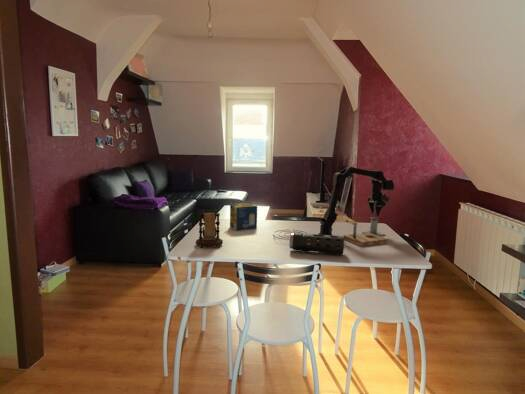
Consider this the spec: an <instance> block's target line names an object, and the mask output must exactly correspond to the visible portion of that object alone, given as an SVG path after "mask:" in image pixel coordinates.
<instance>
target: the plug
mask: <svg viewBox="0 0 525 394" xmlns="http://www.w3.org/2000/svg"><path fill="white" fill-rule="evenodd" d="M378 222H379V217H377V216H376V217H374V216H373V217H372V216H371V217H370V227H369V228H370V229H369V231H370V233H372V234H377V232H378V224H379V223H378Z"/></svg>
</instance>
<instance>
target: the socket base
mask: <svg viewBox="0 0 525 394" xmlns="http://www.w3.org/2000/svg"><path fill="white" fill-rule="evenodd" d="M343 236H344V241H346V242H349V243H351V244H354V245H356V246H358V247H366V246H376V245H383V244H384V245H385V244H388V243H389V238H386V237H384V236H378V235H375V234H372V233H362V232H361V233H356V238H353V233H352V234H343Z"/></svg>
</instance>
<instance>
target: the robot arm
mask: <svg viewBox="0 0 525 394" xmlns="http://www.w3.org/2000/svg"><path fill="white" fill-rule="evenodd" d="M352 174H356V175H361V176H365V177H369V178H371V180H370V181H368V183H369V184H371V191H370V194H371V196H368V197H366V200H365V201H366V203H367V204H368V208H369V210H370V213H371V214H374V212H375V215H376V217H379V216H380V213H381V211H382V209H383V208H385V207H386V206H387V205H386V204H387V203H389V201H390V199H391V197H389V196H388V195H387V194H385V193H383V192H382V191H393V190H394V189H395V183H394V181H393V179H386V177H385V176H384V172H383V171H382V170H376V169H375V170H374V169H372V170H371V169H370V170H369V169H363V168H359V167H358V168H357V167H353V166H351V165H350V166H347V167H345V168H344V169H341V170H339V171H337V172H335V173H334V174H333V176H332V190H331V194H330V199H329V203H328V207H327V209H326V211H325V212H324V215H323V217H322V218H321V219H320V220H319V224H320V228H319V233H318V235H331V236H333V234H332V233H333V224H334V223H335V222H336V221H337V218H338V215H339V214H338V213H337V212H336V208H337V204H338V200H339V197H340V191H341V188H342V186H343V185H344V183H345V181H346V179H347V178H349V177H350V175H352Z"/></svg>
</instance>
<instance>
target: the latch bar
mask: <svg viewBox="0 0 525 394" xmlns="http://www.w3.org/2000/svg"><path fill="white" fill-rule="evenodd" d="M342 217H343V219H344V220H345V221H347V222H349V223H350V224H352V225H353V233H352V234H353V238H356V234H357V227H358V226H357V225H358V222H356V221H355V220H353V219H351V218H350V217H348V216H347V215H343V216H342Z"/></svg>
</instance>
